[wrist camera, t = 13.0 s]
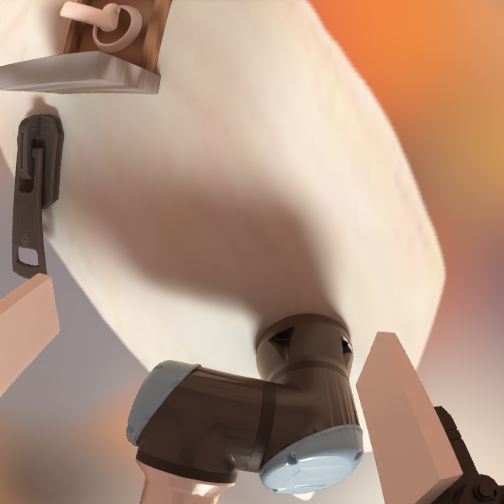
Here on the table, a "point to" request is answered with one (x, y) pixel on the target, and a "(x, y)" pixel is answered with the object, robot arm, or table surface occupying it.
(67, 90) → the open wooden box
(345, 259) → the table surface
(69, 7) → the pink door lever handle
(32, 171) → the zipper pull
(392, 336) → the robot arm
